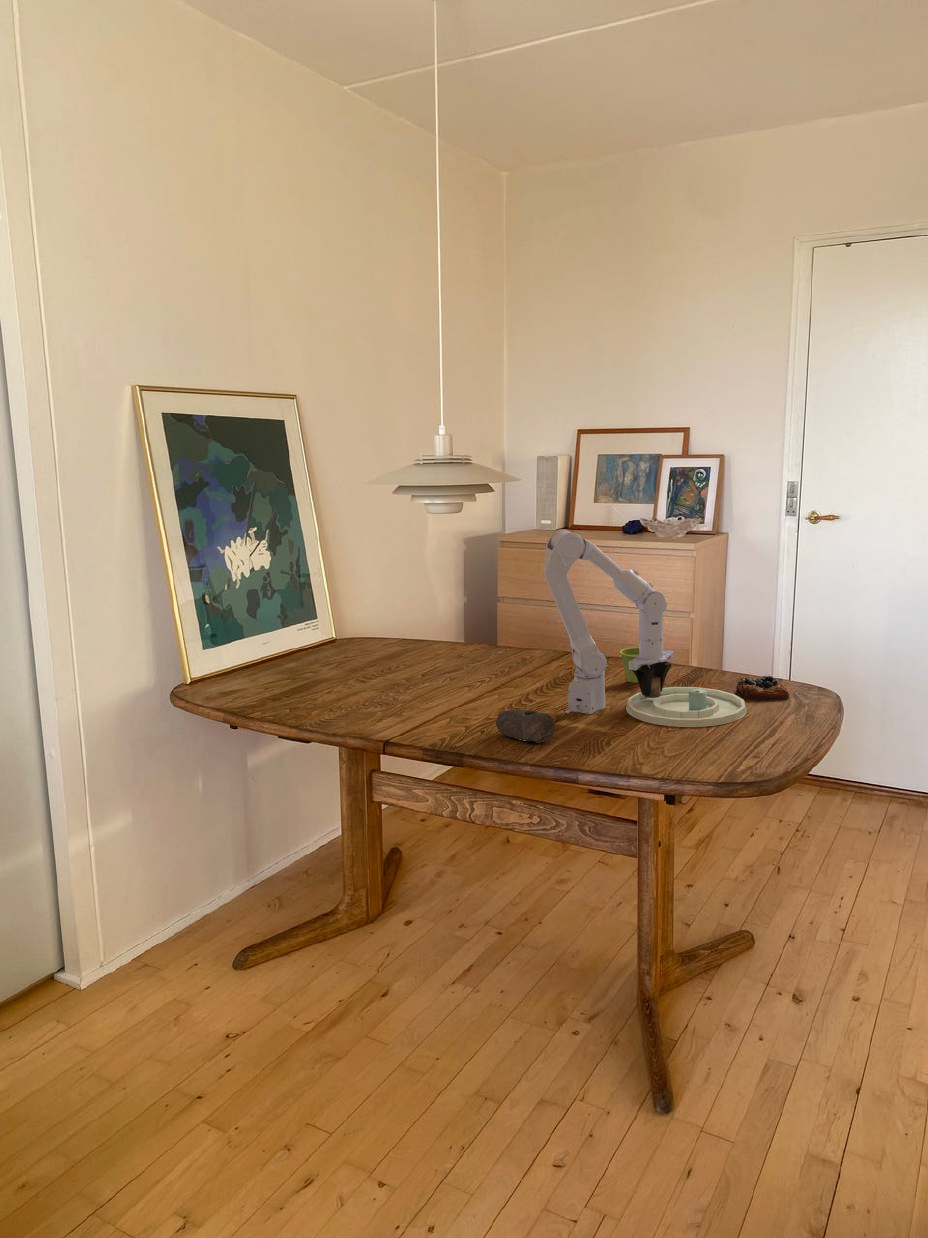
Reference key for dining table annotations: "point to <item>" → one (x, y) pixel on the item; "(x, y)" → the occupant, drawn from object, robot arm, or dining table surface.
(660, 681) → the robot arm
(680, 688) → the groove tray
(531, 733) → the perforated stone tool
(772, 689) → the pastry
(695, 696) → the teal bead
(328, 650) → the dining table surface
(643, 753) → the dining table surface
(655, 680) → the walnut bead
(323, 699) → the dining table surface
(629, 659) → the plant pot
